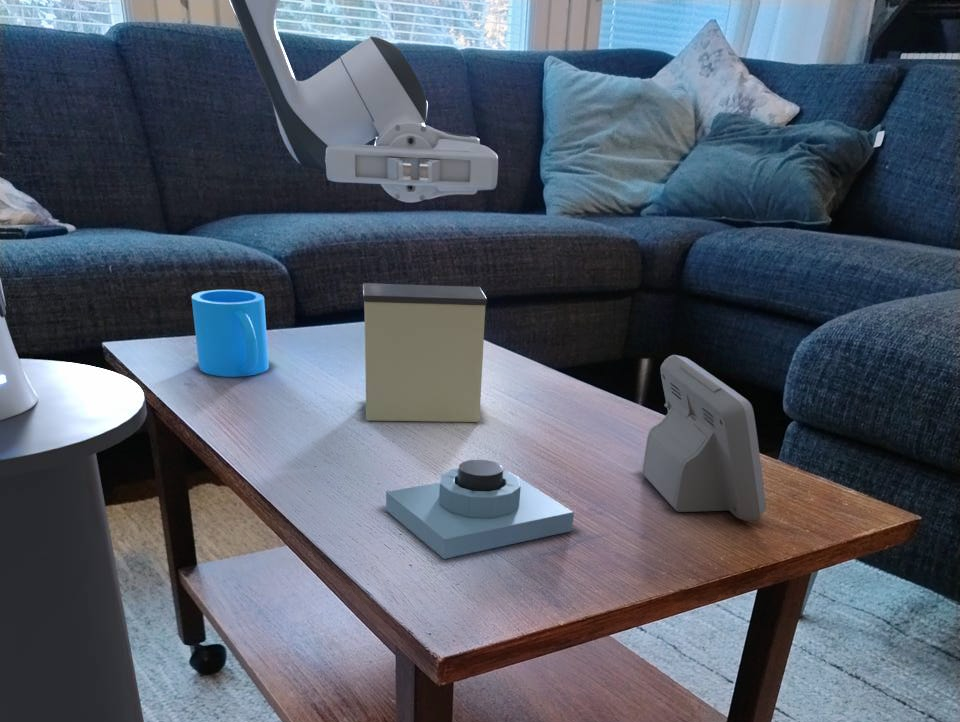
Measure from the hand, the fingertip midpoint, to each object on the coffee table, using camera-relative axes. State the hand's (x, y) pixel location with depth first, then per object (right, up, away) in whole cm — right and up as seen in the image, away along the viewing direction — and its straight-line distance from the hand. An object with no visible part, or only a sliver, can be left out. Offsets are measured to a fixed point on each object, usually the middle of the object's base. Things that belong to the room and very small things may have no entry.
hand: (415, 172), depth 101 cm
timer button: (+7, -40, -28) cm, 49 cm away
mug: (-22, -20, +7) cm, 31 cm away
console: (+1, -28, -3) cm, 28 cm away
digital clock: (+27, -39, -18) cm, 51 cm away
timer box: (+7, -43, -26) cm, 50 cm away
